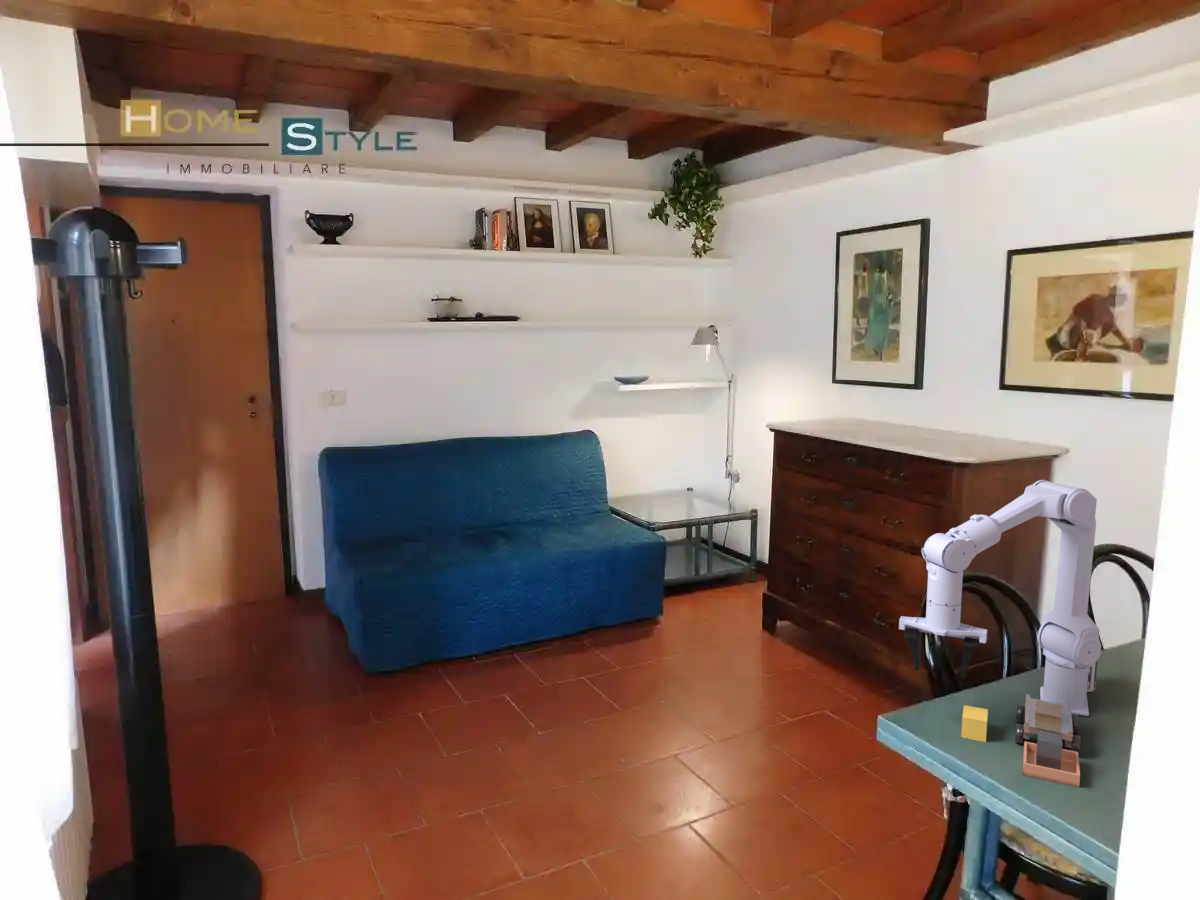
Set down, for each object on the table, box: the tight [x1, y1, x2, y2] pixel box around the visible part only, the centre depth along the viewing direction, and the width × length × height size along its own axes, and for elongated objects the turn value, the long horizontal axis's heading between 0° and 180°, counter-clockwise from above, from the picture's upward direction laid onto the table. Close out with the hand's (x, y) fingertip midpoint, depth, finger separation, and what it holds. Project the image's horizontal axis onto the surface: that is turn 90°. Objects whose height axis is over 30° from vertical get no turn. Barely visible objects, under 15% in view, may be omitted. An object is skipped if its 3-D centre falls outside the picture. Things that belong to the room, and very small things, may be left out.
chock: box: [960, 704, 989, 743], centre depth 147 cm, size 5×4×4 cm
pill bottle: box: [1087, 659, 1099, 693], centre depth 164 cm, size 5×5×10 cm
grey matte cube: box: [1036, 731, 1063, 770], centre depth 135 cm, size 4×4×5 cm
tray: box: [1022, 740, 1081, 788], centre depth 135 cm, size 8×8×2 cm
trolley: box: [1014, 693, 1082, 757], centre depth 145 cm, size 12×10×6 cm
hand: (939, 672), depth 148 cm, fingers open, 7 cm apart
